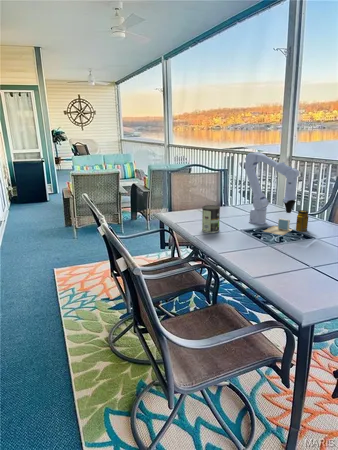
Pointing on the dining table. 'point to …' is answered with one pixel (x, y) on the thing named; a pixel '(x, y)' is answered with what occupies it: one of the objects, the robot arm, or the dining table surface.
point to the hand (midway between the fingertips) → (288, 212)
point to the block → (283, 224)
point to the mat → (277, 230)
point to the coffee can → (210, 218)
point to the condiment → (302, 221)
